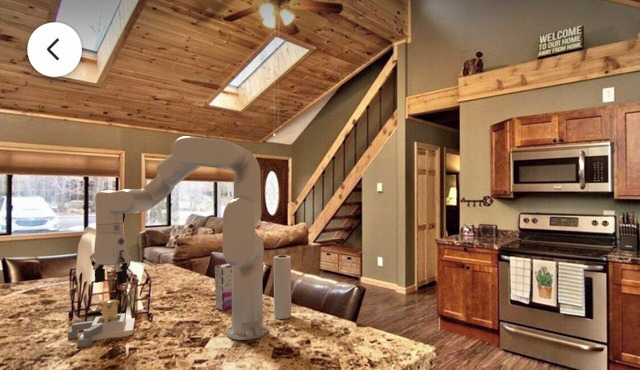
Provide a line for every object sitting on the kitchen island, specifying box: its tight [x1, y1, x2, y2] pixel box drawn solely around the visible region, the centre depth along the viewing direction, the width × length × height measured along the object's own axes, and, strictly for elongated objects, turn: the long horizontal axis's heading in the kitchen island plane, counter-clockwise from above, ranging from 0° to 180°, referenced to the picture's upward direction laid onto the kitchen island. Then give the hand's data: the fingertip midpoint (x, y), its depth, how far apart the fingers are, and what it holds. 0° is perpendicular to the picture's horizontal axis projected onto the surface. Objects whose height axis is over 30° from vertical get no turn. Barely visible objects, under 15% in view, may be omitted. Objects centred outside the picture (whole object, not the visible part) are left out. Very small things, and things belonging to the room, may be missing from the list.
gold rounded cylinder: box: [99, 299, 120, 323], centre depth 117 cm, size 5×5×8 cm
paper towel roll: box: [273, 254, 292, 320], centre depth 130 cm, size 7×6×21 cm
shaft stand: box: [67, 312, 136, 348], centre depth 114 cm, size 17×18×4 cm
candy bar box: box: [214, 262, 232, 311], centre depth 142 cm, size 11×5×16 cm, turn 143°
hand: (110, 282), depth 117 cm, fingers open, 9 cm apart
